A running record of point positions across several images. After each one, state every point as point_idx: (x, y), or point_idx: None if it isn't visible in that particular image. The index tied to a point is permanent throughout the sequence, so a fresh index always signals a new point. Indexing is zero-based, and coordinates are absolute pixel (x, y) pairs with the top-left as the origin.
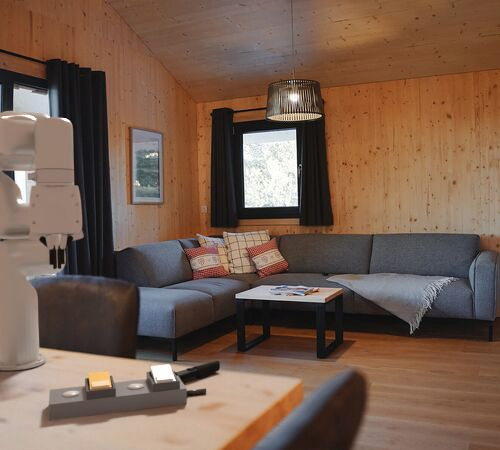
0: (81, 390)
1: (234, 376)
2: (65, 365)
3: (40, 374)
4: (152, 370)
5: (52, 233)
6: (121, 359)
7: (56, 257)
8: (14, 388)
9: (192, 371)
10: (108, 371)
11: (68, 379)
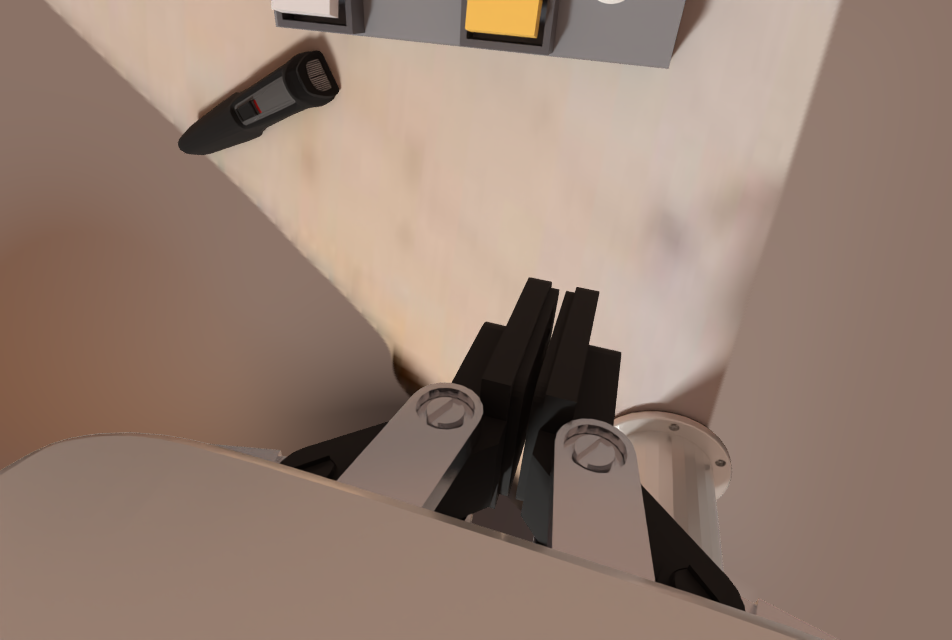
0: (573, 2)
1: (161, 70)
2: None
3: (627, 355)
4: None
5: (541, 552)
6: (417, 359)
7: (550, 343)
8: (724, 276)
9: (245, 94)
10: (466, 26)
11: (567, 275)
